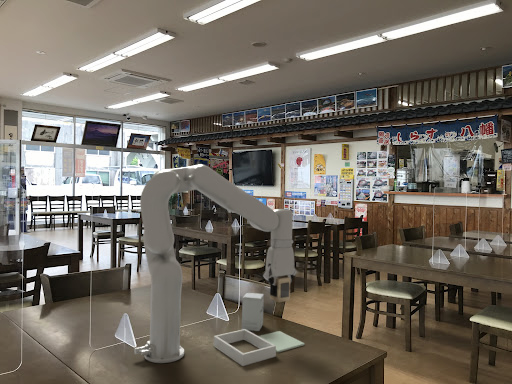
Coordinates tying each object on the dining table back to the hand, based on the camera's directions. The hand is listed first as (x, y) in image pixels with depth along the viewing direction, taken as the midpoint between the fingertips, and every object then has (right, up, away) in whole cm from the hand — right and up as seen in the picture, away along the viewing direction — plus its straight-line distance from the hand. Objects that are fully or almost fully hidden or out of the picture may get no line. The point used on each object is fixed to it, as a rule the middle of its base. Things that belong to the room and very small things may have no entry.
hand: (279, 294), depth 142 cm
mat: (0, -17, 0) cm, 17 cm away
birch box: (0, -2, 0) cm, 2 cm away
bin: (-13, -17, -9) cm, 23 cm away
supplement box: (-10, -17, +14) cm, 24 cm away
